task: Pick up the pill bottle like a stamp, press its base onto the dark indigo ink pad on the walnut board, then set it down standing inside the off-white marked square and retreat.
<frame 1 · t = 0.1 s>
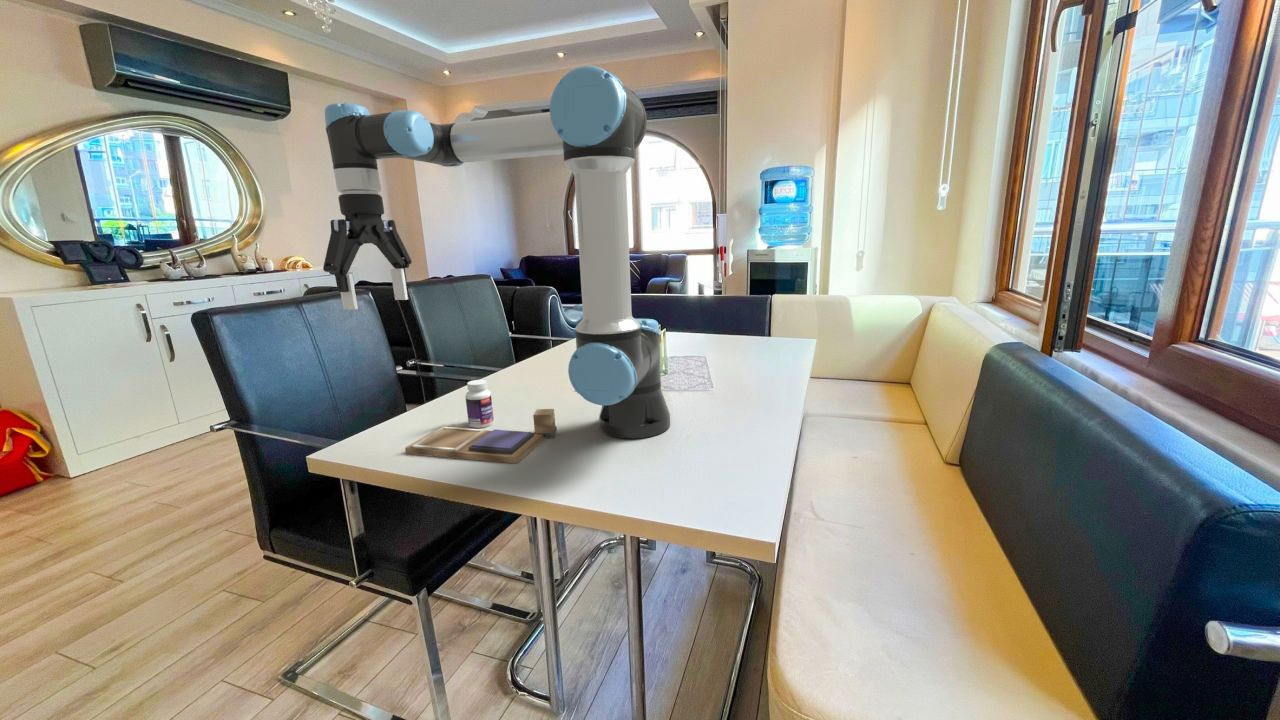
hand: (377, 304, 104), 28 cm above the table, fingers open, 13 cm apart
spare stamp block: (545, 434, 107), on the table
pill bottle: (481, 424, 115), on the table
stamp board: (476, 446, 102), on the table
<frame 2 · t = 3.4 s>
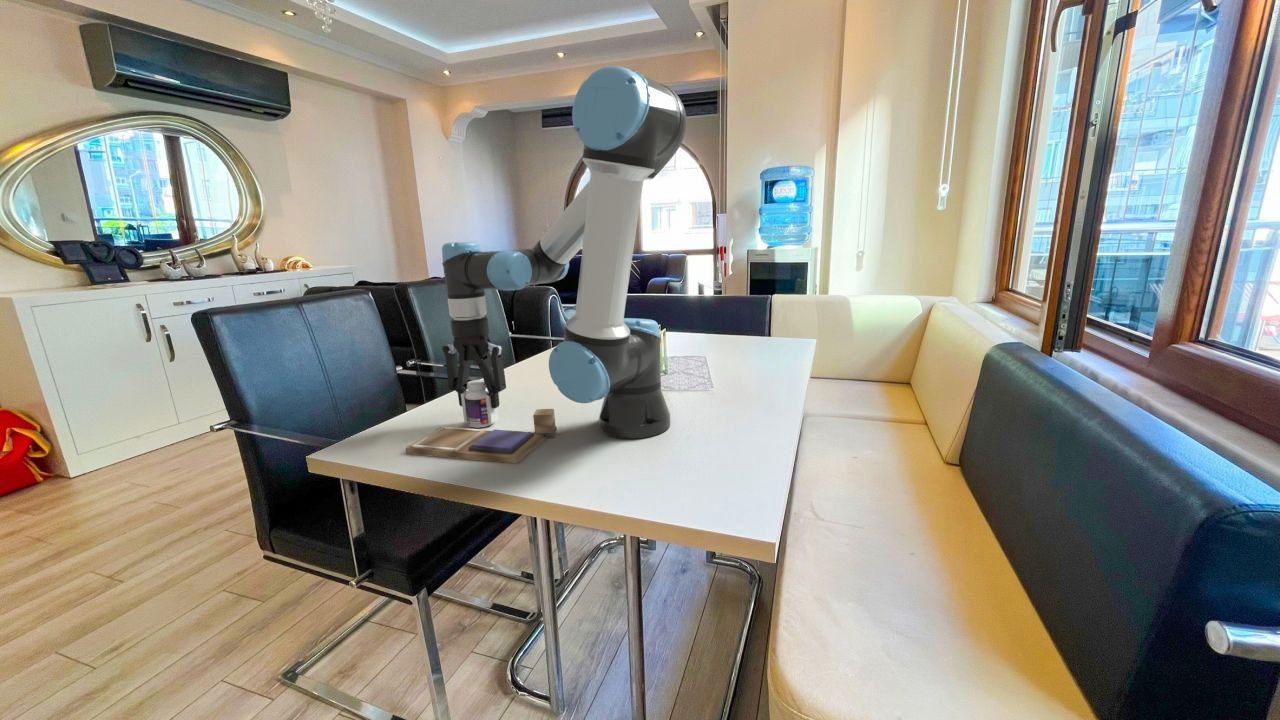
hand: (481, 420, 114), 1 cm above the table, fingers closed on pill bottle, 5 cm apart
pill bottle: (481, 424, 115), on the table, touching gripper
everything else where it was.
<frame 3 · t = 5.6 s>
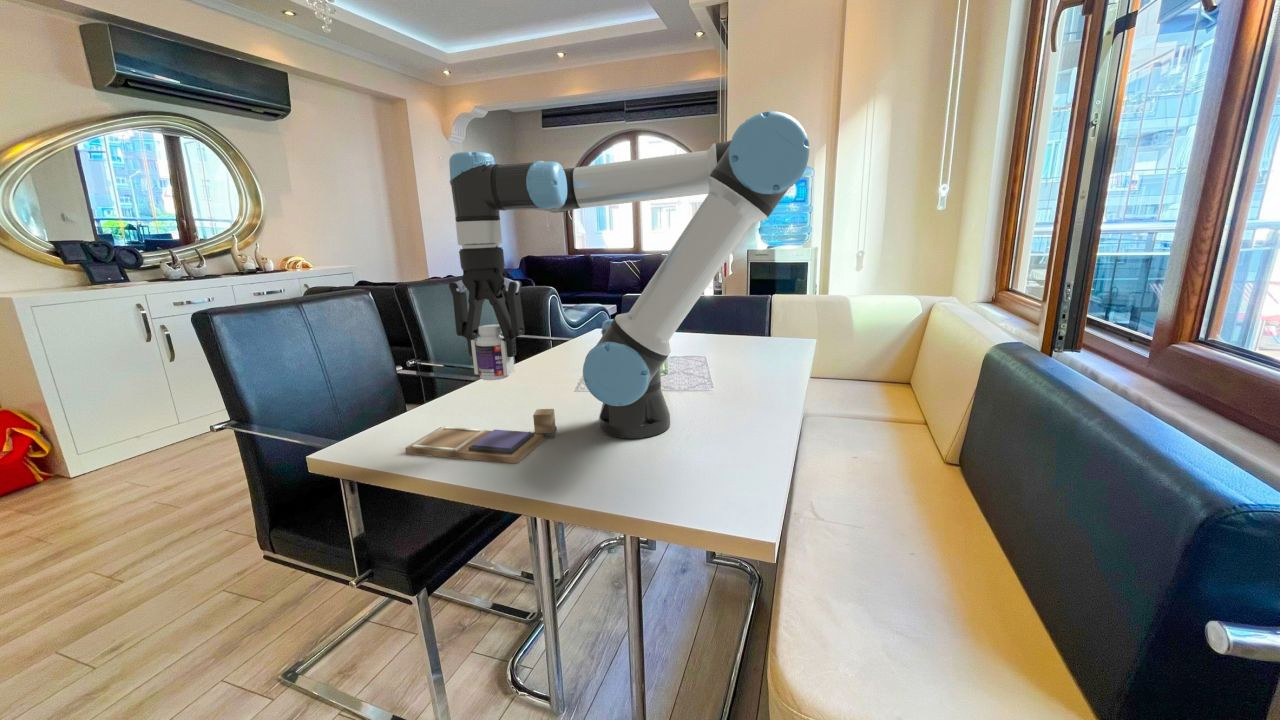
hand: (494, 372, 97), 15 cm above the table, fingers closed on pill bottle, 5 cm apart
pill bottle: (495, 378, 97), point 14 cm above the table, touching gripper
everything else where it was.
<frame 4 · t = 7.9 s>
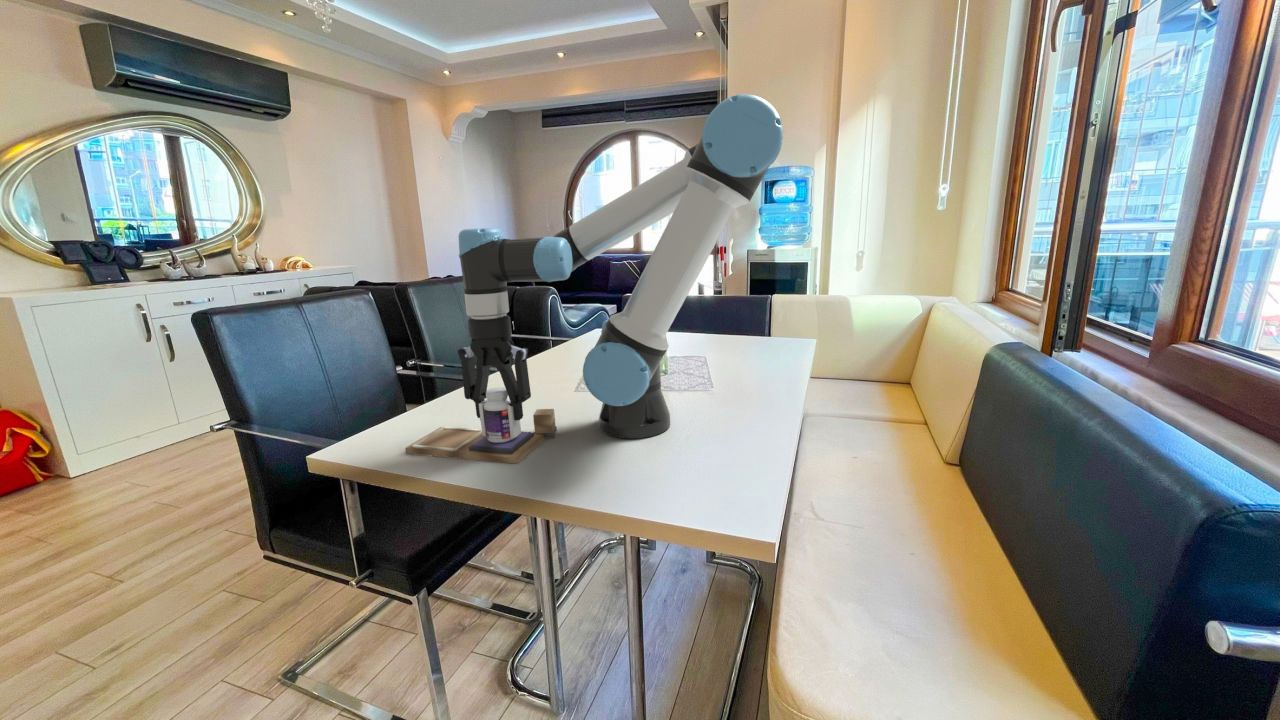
hand: (501, 434, 100), 3 cm above the table, fingers closed on pill bottle, 5 cm apart
pill bottle: (502, 439, 100), point 2 cm above the table, touching gripper
everything else where it was.
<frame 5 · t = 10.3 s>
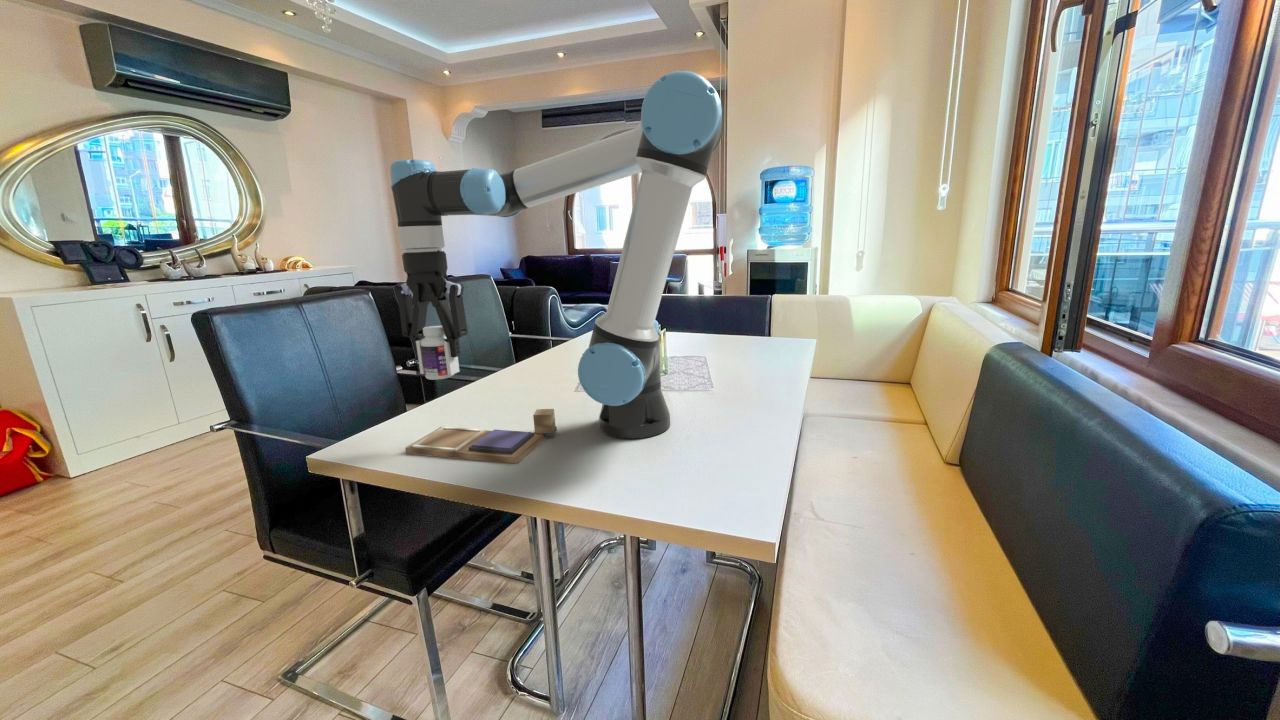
hand: (440, 372, 100), 15 cm above the table, fingers closed on pill bottle, 5 cm apart
pill bottle: (440, 377, 100), point 14 cm above the table, touching gripper
everything else where it was.
when the fingers open (3 cm above the table, at t = 12.6 s): pill bottle drops 1 cm, resting on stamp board.
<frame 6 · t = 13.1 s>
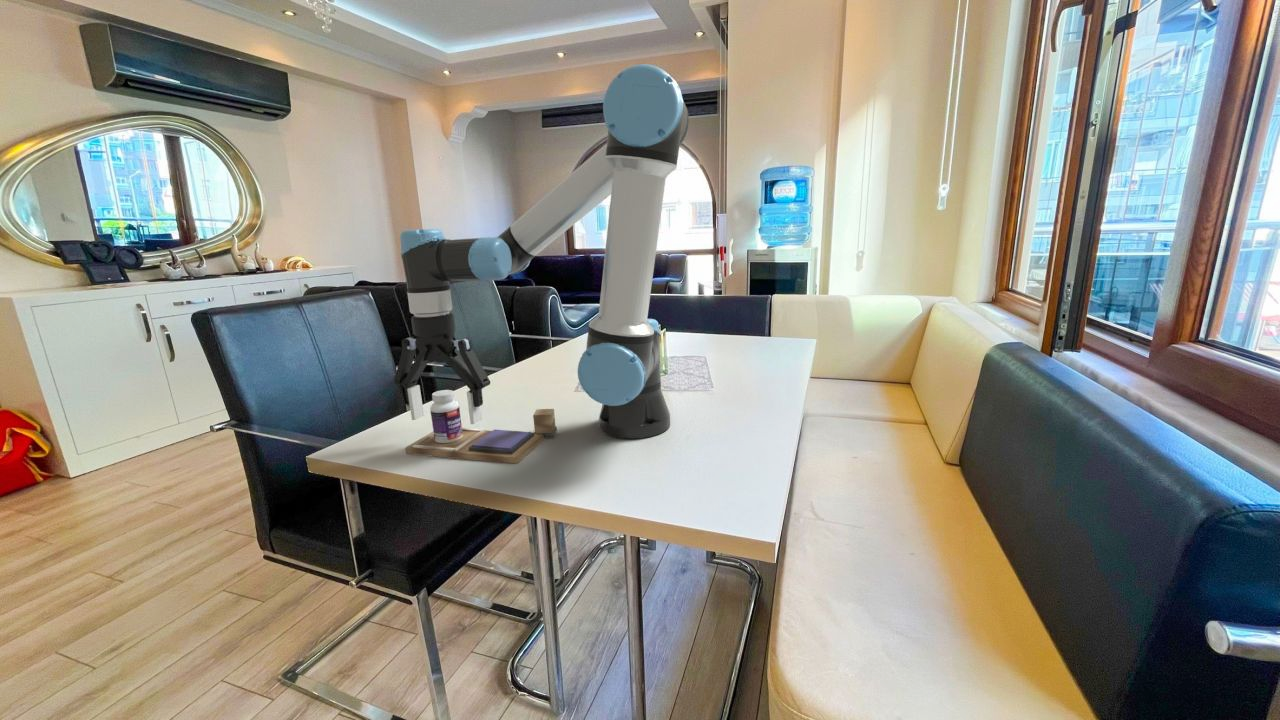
hand: (446, 419, 103), 5 cm above the table, fingers open, 13 cm apart
pill bottle: (449, 439, 103), point 1 cm above the table, touching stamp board
everything else where it was.
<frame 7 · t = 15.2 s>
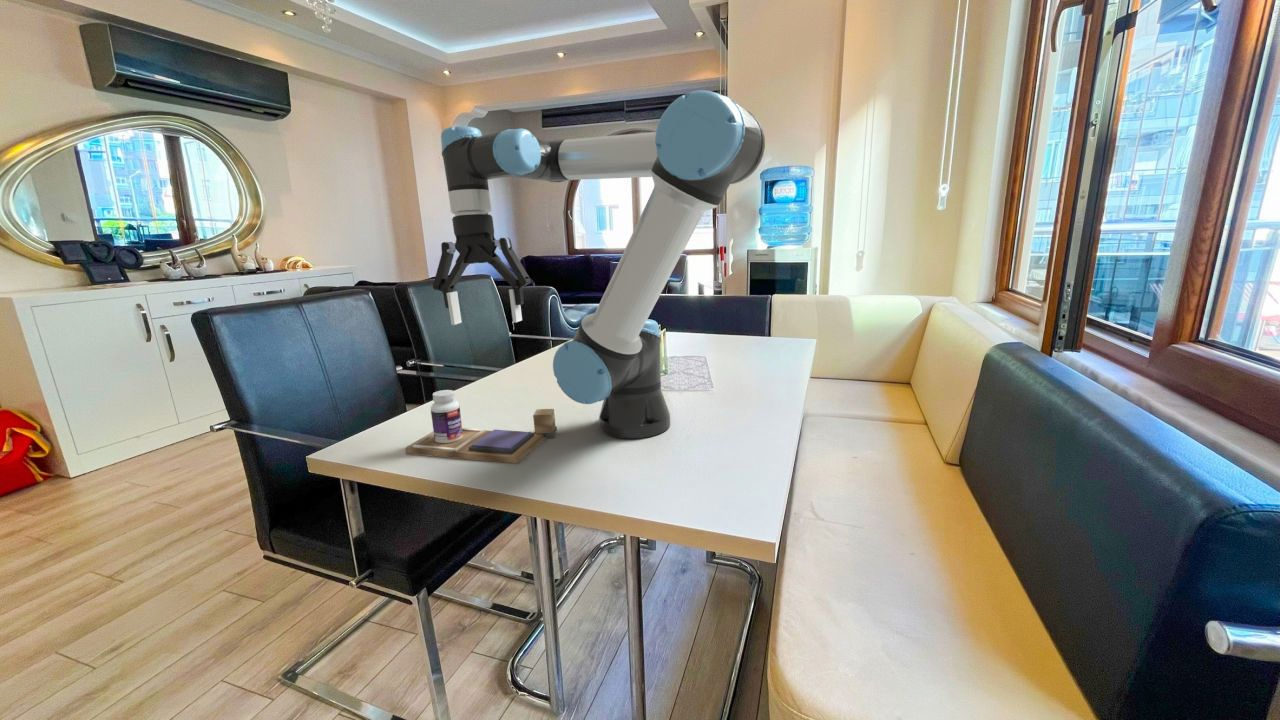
hand: (486, 322, 105), 23 cm above the table, fingers open, 13 cm apart
nothing on the table moved.
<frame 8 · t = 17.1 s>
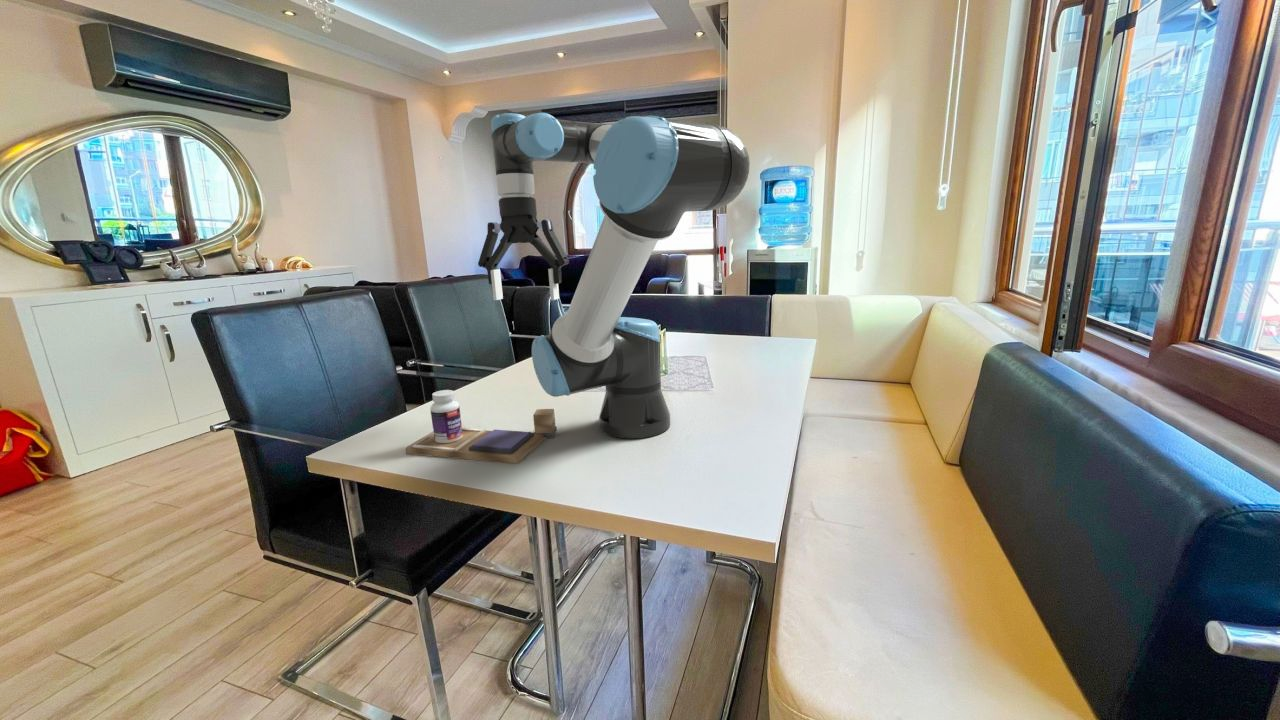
hand: (526, 299, 112), 27 cm above the table, fingers open, 13 cm apart
nothing on the table moved.
at the end: pill bottle inside the target area on the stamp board (0.1 cm from its centre), point 1.0 cm above the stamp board's base; pill bottle tilted 0°; the gripper is holding nothing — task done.
